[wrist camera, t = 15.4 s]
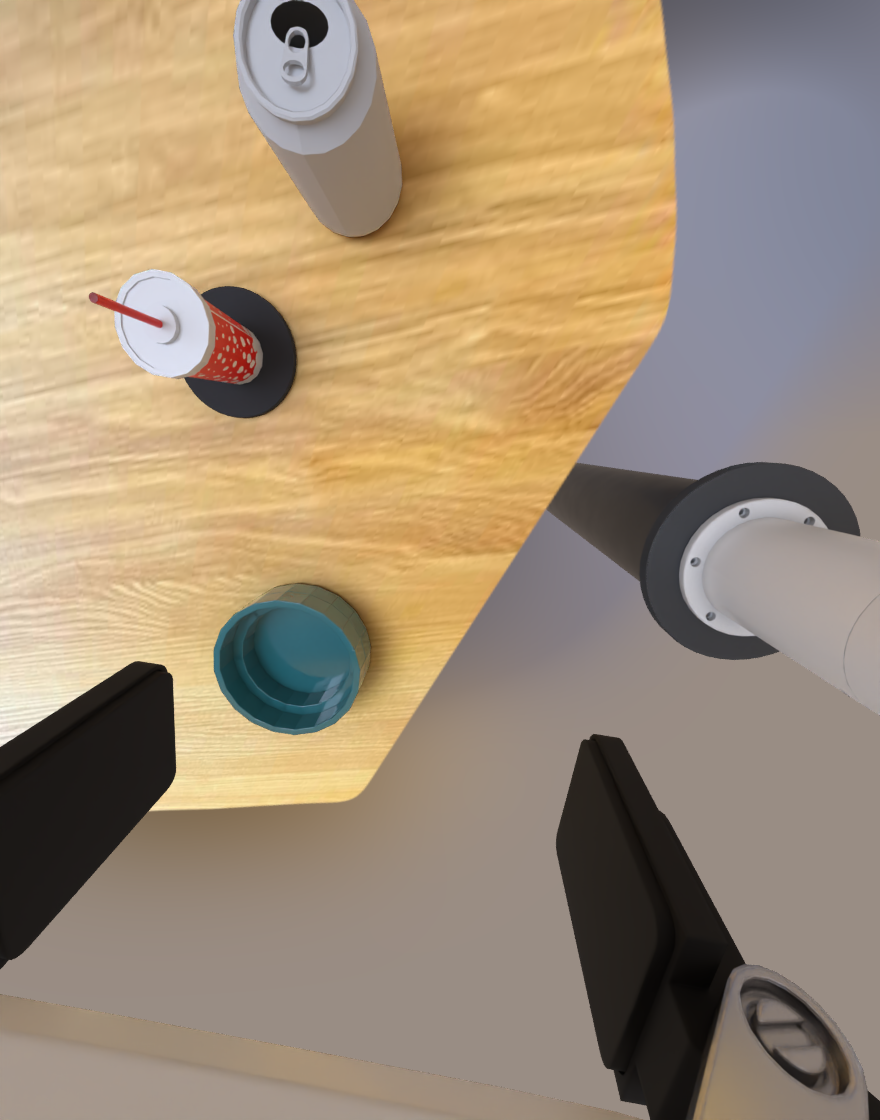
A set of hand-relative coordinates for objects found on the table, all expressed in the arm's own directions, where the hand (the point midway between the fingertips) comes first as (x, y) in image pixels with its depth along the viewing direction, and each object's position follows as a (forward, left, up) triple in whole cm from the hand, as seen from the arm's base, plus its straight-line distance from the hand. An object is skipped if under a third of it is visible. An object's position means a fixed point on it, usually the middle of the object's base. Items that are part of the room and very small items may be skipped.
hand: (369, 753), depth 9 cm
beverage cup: (+19, -12, -30) cm, 37 cm away
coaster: (+19, -12, -30) cm, 37 cm away
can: (+10, -25, -30) cm, 40 cm away
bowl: (+12, +14, -30) cm, 35 cm away
